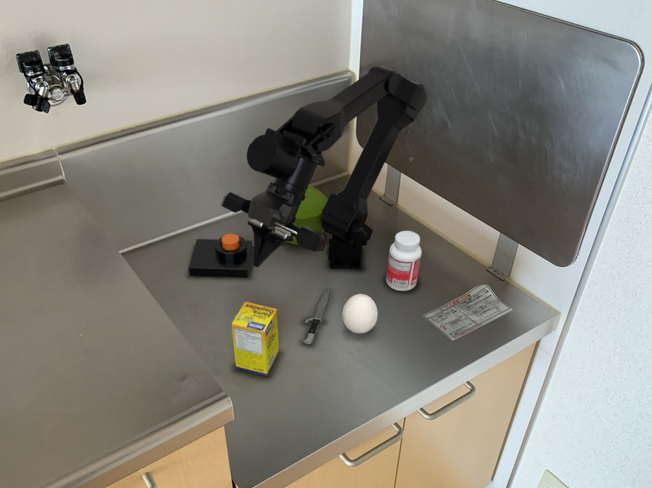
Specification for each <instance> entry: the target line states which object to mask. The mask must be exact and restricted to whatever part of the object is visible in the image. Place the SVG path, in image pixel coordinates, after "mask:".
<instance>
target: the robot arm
mask: <svg viewBox="0 0 652 488" xmlns="http://www.w3.org/2000/svg"><path fill="white" fill-rule="evenodd" d="M427 94H428V93H427V92H426V88H425V85H424V84H421V83H419V82H416V81H413V80H411V79H407V78H405V77H404V76H403V75H401V74H400V73H398V71H396V70H394V69H391V68H388V67H386V66H382V65H373V66H371V68H370V69H369V71H368V72H367V73H366V74H364V75H363V76H362V77H360V78H359V79H357V80H356V81H354V82H352V84H350V85H348V86H347V87H346V88H344V89H343V90H342V91H340V92H339V93H337V94H336V95H334V96H333V97H331V98H329V99H327V100H321V101H313V102H311V103H307V104H306V105H303V106H302V107H300V108H299V109H297V110H296V111H295V112H294V114H293V115H292V116H291V117H290V118H288V120H286V121H285V122H284V123H283V124H282V125H281V126H280V127H279V128H278V129H277V130H274V129H272V128H270V127H267V128H266V130H265V132H264V134H261V135H259V136H256V138H254V139H253V140H252V141H251V143H249V144H248V147H247V150H246V161H247V164H248V166H249V167H250V169H252V170H253V171H255V172H258V173H260V174H264V175H267V176H270V177H272V178H274V179H273V181H270V183H269V184H268V186H267V188H266V190H265V191H264V192H260V193H258V194H257V195H255V196H252V198H251V197H248V196H246V195H244V194H242V193H241V192H240V193H239V192H235V191H234V192H233V191H229V192H227V193H226V194H225V195H224V196H223V198H222V200H221V204H220V206H221V207H222V208H224V209H227V210H229V211H230V212H232V213H238V212H243V213H245V214H247V217H248V218H249V219H250V220H248V221H247V225H248V226H250V227H251V230H252V233H253V254H252V266H253V267H255V268H260V266H262V264H264V263H265V262H266V260H267V259H268V258H269V257H270V256H271V255H272V254H273V253H274V252H275V251H276V250H277V249H278V248H280V247H281V246H282V245H284V244H285V243H287V242H290V241H293V240H294V239H293V236H295V237H296V240H297V243H298V244H300V245H299V246H301V247H304V248H306V249H308V250H309V251H312V252H314V253H315V252H324V250H325V248H326V246H328V247H327V248H328V249H327V261H329V265H330V266H329V267H330V268H331V269H348V270H349V269H351V270H362V267H363V263H362V255H363V247H366V246H367V245H368V241H370V240H371V238H372V235H373V232H374V229H373V228H372V227H370V226H369V225H368V224H366V221H367V219H368V217H369V210H368V208H369V207H368V198H369V197H370V194H371V192H372V190H373V187H374V186H375V184H376V181H377V179H378V177H379V176H380V173H381V171H382V169H383V167H384V165H385V163H386V161H387V159H388V157H389V155H390V153H391V151H392V149H393V147H394V144H395V143H396V140H397V138H398V137H399V134H400V132H401V131H402V130H404V129H405V128H407V127H408V126H409V125H411V124H412V123H414V122H415V120H416V119H417V117H418V116H419V114H420V112H421V111H422V110H423V109H424V108H425V105H426V103H427V99H428V95H427ZM373 105H376V121H375V124H374V125H373V127H372V130H371V131H370V134H369V136H368V138H367V140H366V143H364V146H363V148H362V151H361V152H360V154H359V157H358V159H357V160H356V163H355V165H354V167H353V169H352V172H351V174H350V176H349V178H348V180H347V182H346V184H345V186H344V188H343V189H342V190H340V191H338V192H337V193H334V192H332V193H331V194H329V195H328V197H327V199H328V201H327V203H326V205H325V207H324V208H323V209H322V214H321V221H322V227H323V228H324V230H323V233H321V232H319V231H317V230H315V229H313V228H311V227H301V228H300V227H298V226H296V225H294V224H292V223H294V222H295V220H296V217H295V215H296V213H297V211H298V209H299V206H300V204H301V202H302V201H304V199H305V197H306V195H305V192H306V190H307V188H308V186H310V183H311V181H312V178H313V176H314V174H315V171H316V169H317V167H318V166H320V167H325V165H326V162H325V158H324V155H323V152H326V151H328V150H329V149H331V148H332V147H333V146H334V145H335V144H336V143H337V142H338V141H339V140H340V139H341V138H342V137H343V135H344V130H345V127H346V126H347V125H348V124H349V123H350V122H352V121H353V120H354V119H356V118H357V117H359V116H360V115H361V114H363V113H364V112H365V111H366V110H368V109H370V108H371V107H373ZM273 227H274V228H273ZM325 233H326V234H325ZM327 234H329V235H330V236H331V237H330V236H329V238H328V236H327ZM327 243H328V245H327Z"/></svg>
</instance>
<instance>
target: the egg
mask: <svg viewBox="0 0 652 488" xmlns="http://www.w3.org/2000/svg"><path fill="white" fill-rule="evenodd" d="M341 315H342V316H341V317H342V322H343V323H344V326H345V327H346V328H347V329H348V330H349V331H350V332H352V333H355V334H365V333H368V332H369V331H371V330H372V329H373V328H374V327H375V326H376V324H377V321H378V315H379V313H378V306H377V304H376V302H375V301H374V300H373V298H371V297H370V296H369V295H367V294H364V293H358V294H354V295H352V296H351V297H349V298H348V299H347V301H346V302H345V303H344V305H343V309H342V313H341Z"/></svg>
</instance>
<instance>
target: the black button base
mask: <svg viewBox="0 0 652 488" xmlns="http://www.w3.org/2000/svg"><path fill="white" fill-rule="evenodd" d="M237 236H238V237H239V243H240V246H239V248H238V249H235V250H225V249H224V248H223V247H222V237H223V236H220V237H219V238H218V239H215V238H214V239H213V238H212V239H211V238H196V240H195V244H194V247H193V250H192V255H191V257H190V261H189V265H188V274H189V277H205V278H206V277H207V278H208V277H210V278H238V279H239V278H240V279H242V278H244V279H248V278H249V275H250V269H251V263H252V257H253V251H254V244H253V240H251V239H250V240H249V239H247V240H246V238H244V237H242V236H240V235H237Z"/></svg>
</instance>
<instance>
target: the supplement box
mask: <svg viewBox="0 0 652 488" xmlns="http://www.w3.org/2000/svg"><path fill="white" fill-rule="evenodd" d="M278 322H279V321H278V308H275V307H270V306H265V305H261V304H257V303H253V302H249V301H244V303H243V304H242V306H241V308H240V309H239V311H238V313H237V314H236V316H235V317H234V319H233V321H232V323H231V332H232V343H233V344H232V345H233V352H234V354H233V355H234V362H235V369H236V370H239V371H243V372H247V373H251V374H254V375H260V376H262V377H268V376H269V374H270V372H271V370H272V367H273V366H274V365H275V362H276V360H277V357H278V356H279V351H280V350H279V324H278Z"/></svg>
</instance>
